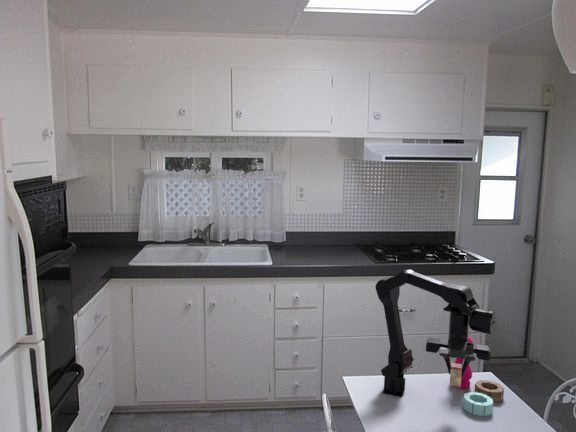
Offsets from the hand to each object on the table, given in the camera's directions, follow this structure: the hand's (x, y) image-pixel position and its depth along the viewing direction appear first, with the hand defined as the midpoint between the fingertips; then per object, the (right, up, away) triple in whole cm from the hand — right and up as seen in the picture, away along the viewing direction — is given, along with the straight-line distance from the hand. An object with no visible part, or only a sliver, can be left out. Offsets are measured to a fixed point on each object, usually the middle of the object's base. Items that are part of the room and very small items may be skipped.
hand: (455, 375), depth 149 cm
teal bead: (+9, -12, +4) cm, 16 cm away
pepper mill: (+9, -11, +21) cm, 25 cm away
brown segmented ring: (+16, -12, +13) cm, 24 cm away
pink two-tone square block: (0, -3, 0) cm, 3 cm away
